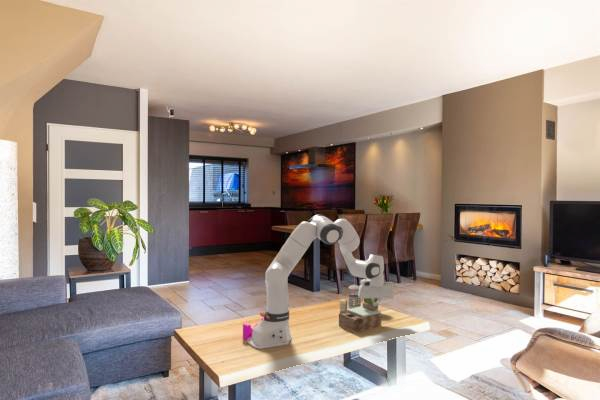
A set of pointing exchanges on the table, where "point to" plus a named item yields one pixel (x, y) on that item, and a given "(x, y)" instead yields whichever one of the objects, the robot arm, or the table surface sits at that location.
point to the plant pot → (370, 301)
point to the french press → (354, 297)
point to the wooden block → (343, 305)
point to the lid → (364, 310)
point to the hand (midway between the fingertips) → (375, 305)
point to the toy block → (248, 330)
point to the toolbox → (358, 321)
